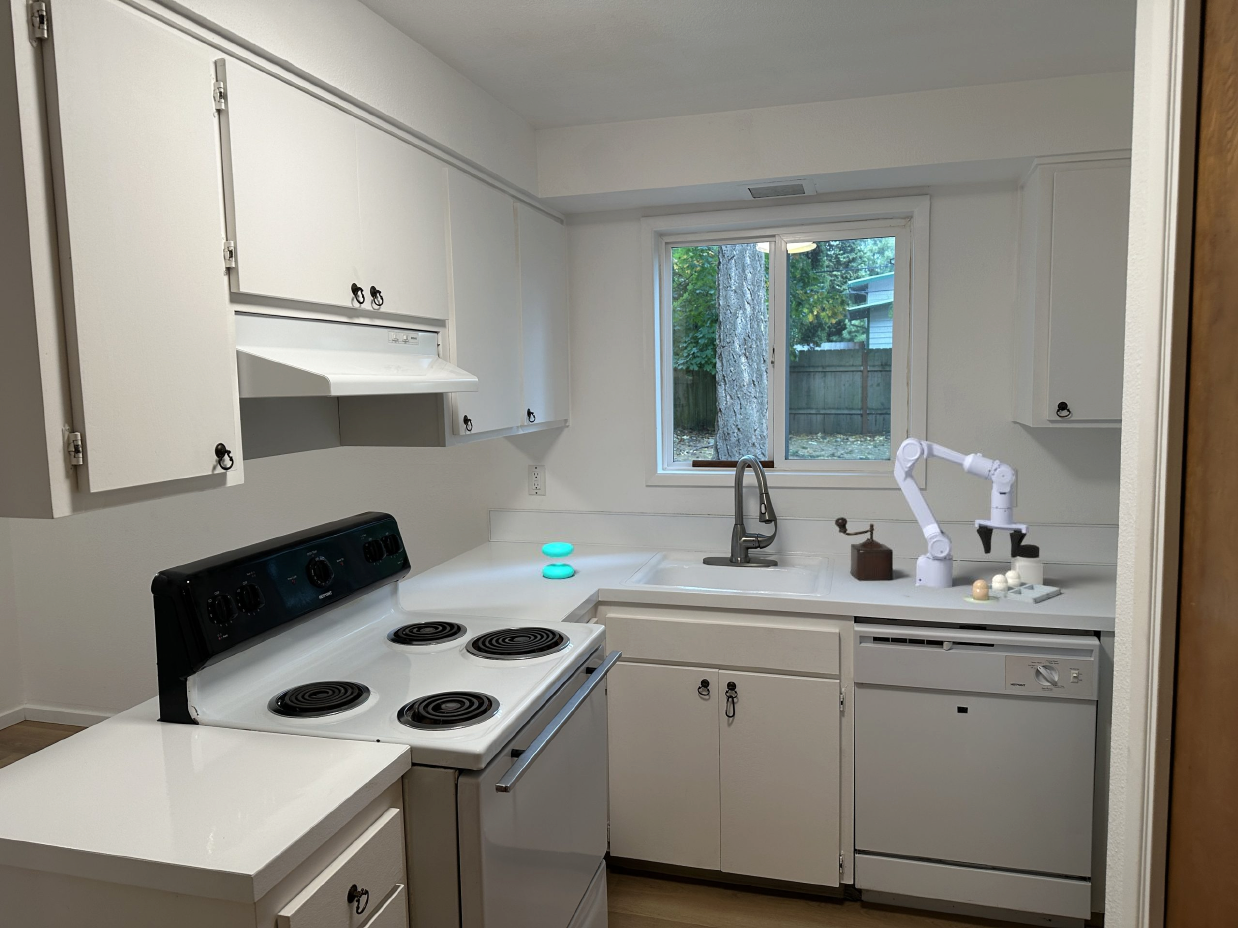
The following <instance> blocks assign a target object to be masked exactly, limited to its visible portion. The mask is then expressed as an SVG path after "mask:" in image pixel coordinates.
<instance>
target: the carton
mask: <svg viewBox="0 0 1238 928" xmlns="http://www.w3.org/2000/svg"><path fill="white" fill-rule="evenodd" d="M988 585H989V596H991V597H996V598H1003V599H1008V600H1014V601H1019V602H1025V603H1029V604H1037V603H1040V602H1042V601H1044V600H1047V599H1050V598H1052V597H1055V596H1058V595H1060V594H1062V593H1061V591H1062V589H1061V587H1054V586H1049V585H1044V584H1043V585H1038V584H1032V583H1026V582H1020V587H1019V588H1018V587H1012V586H1008V592H1002V591H997V590H992V583H989V584H988Z"/></svg>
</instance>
